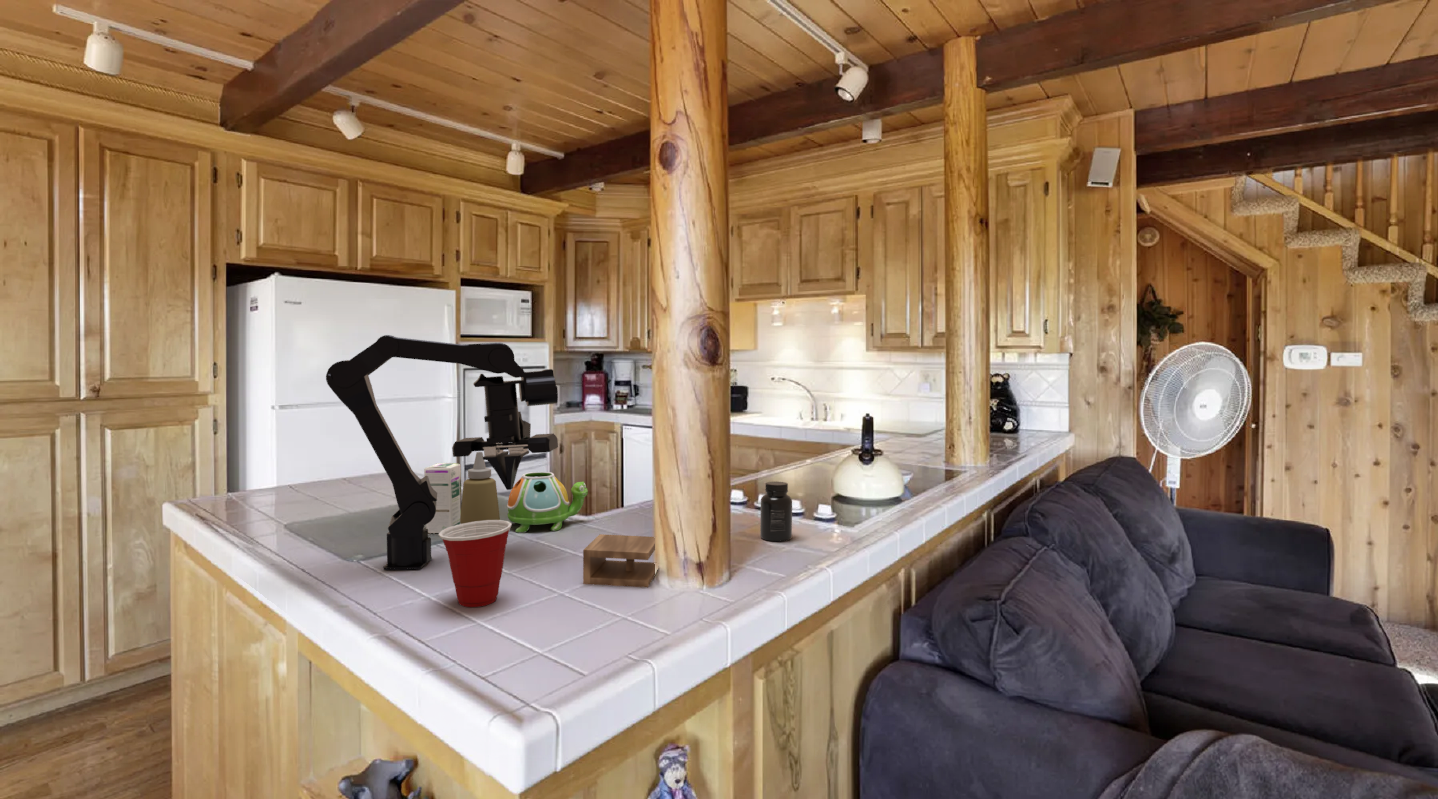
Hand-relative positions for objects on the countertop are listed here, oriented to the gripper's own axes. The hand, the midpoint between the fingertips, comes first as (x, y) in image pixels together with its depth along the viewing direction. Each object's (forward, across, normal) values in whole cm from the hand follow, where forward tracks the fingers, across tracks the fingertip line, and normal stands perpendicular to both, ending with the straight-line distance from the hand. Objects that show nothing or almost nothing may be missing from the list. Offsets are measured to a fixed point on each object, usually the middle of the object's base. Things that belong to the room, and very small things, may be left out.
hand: (509, 489), depth 129 cm
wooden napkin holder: (+11, -18, +9) cm, 23 cm away
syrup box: (+12, +22, -15) cm, 29 cm away
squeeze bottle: (+13, +12, -12) cm, 21 cm away
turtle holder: (+14, +2, -22) cm, 26 cm away
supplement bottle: (+18, -50, -19) cm, 56 cm away
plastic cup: (+12, -3, +24) cm, 27 cm away
